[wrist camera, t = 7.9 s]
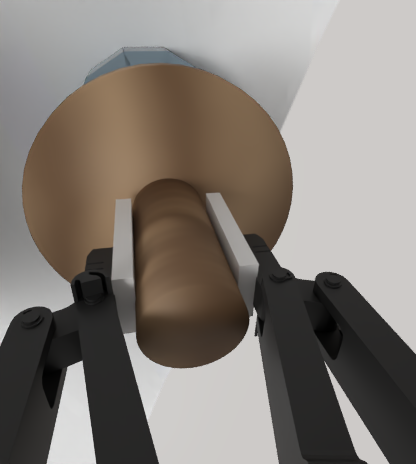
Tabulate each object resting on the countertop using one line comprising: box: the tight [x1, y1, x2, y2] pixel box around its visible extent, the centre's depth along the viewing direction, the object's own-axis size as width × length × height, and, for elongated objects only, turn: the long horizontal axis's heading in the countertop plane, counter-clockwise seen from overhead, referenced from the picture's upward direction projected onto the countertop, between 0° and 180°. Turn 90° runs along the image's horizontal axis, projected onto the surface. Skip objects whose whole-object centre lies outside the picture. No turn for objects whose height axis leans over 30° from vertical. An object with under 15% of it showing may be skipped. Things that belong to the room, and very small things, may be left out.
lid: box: [22, 63, 293, 368], centre depth 16 cm, size 15×15×10 cm
